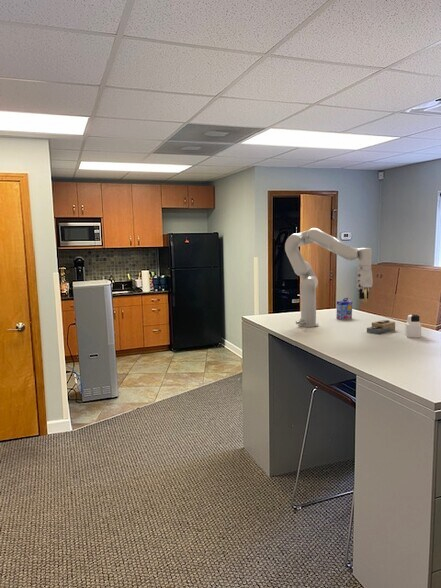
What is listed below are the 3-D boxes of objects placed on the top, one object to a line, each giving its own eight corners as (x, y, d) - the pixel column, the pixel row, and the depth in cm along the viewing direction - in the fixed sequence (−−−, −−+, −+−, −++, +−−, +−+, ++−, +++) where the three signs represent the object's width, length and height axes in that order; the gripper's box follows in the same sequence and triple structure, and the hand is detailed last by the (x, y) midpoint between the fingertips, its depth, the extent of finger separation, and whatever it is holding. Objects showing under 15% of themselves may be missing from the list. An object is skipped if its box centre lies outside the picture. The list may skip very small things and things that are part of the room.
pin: (364, 302, 256) (364, 286, 254) (359, 301, 258) (360, 285, 257) (367, 301, 258) (368, 285, 256) (363, 301, 260) (363, 285, 259)
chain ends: (378, 334, 242) (378, 324, 242) (366, 332, 249) (366, 322, 248) (395, 330, 251) (395, 321, 251) (383, 328, 258) (383, 319, 257)
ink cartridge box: (341, 319, 287) (341, 298, 285) (335, 318, 292) (336, 297, 290) (352, 318, 291) (352, 297, 290) (347, 317, 296) (347, 296, 295)
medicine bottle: (418, 334, 238) (419, 314, 237) (421, 337, 231) (421, 316, 230) (405, 334, 240) (405, 313, 239) (407, 337, 233) (407, 316, 232)
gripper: (361, 269, 248) (360, 300, 250) (378, 268, 257) (377, 297, 259) (350, 268, 254) (349, 299, 256) (367, 267, 263) (367, 296, 265)
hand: (363, 298), depth 258 cm, fingers closed on pin, 3 cm apart
